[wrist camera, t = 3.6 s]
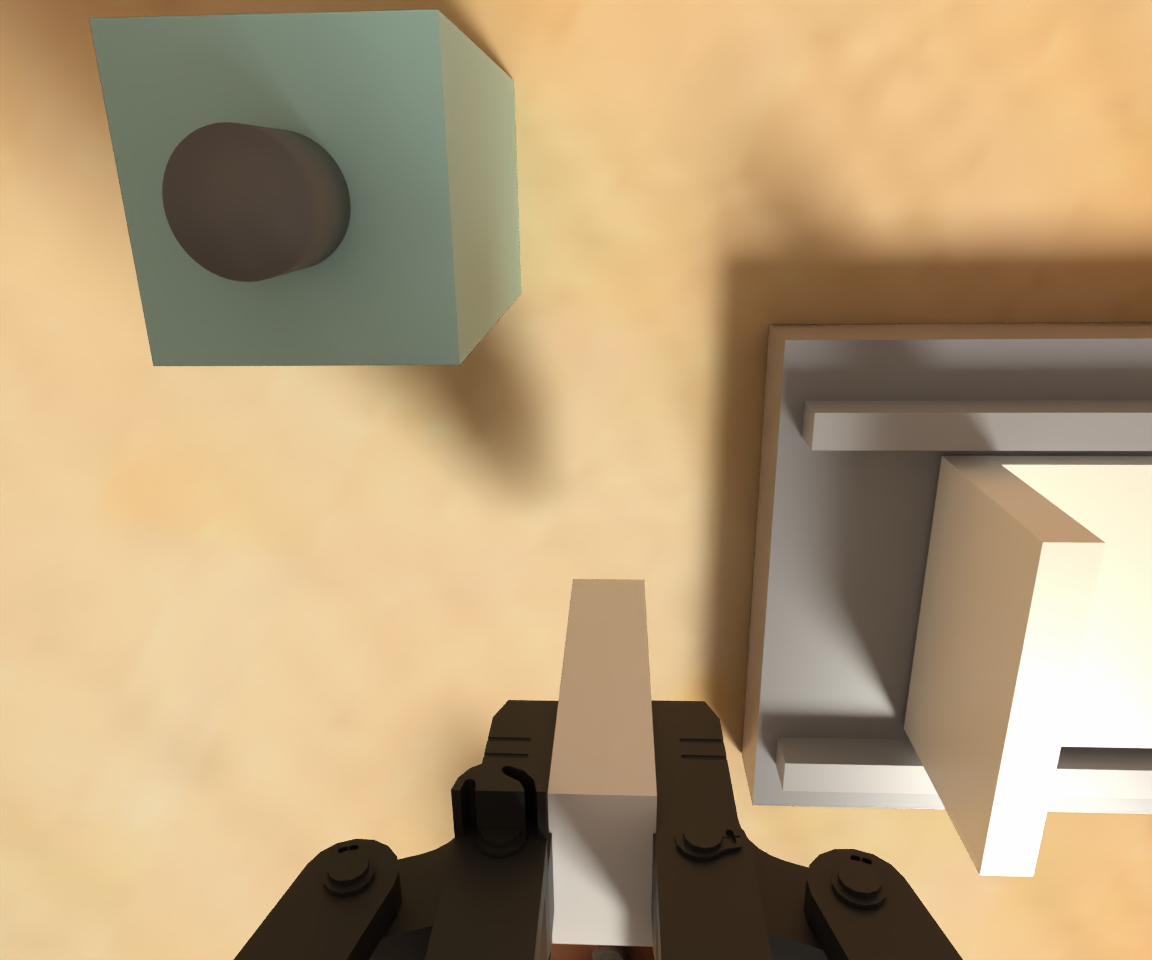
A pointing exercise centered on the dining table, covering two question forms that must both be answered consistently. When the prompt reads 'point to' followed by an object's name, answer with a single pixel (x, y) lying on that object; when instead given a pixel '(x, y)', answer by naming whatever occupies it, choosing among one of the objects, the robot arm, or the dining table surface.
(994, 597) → the shutter
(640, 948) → the electronic device
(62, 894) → the dining table surface
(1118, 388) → the socket board
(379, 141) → the teal bottle
